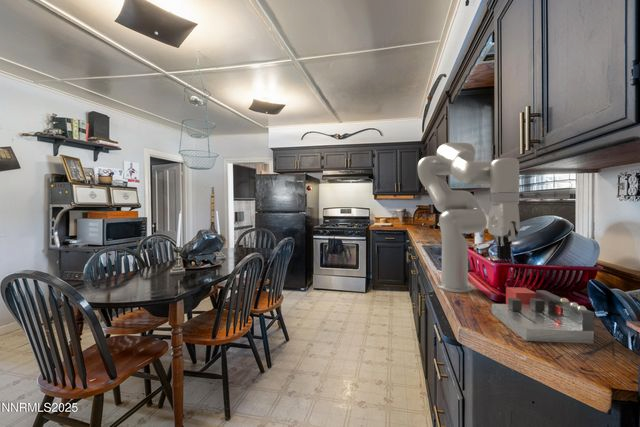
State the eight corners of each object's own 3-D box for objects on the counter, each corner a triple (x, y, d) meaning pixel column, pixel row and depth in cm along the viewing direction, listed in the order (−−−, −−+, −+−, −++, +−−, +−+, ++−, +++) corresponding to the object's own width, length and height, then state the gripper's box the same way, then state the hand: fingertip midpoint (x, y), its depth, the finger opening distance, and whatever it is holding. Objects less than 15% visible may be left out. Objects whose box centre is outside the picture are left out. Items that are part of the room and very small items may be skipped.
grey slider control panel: (491, 313, 89) (491, 286, 89) (544, 315, 88) (544, 287, 87) (526, 340, 71) (526, 307, 71) (593, 343, 70) (594, 308, 69)
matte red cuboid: (505, 305, 96) (506, 287, 96) (525, 305, 96) (525, 287, 95) (515, 311, 90) (516, 292, 90) (536, 312, 90) (537, 293, 89)
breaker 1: (508, 307, 85) (508, 297, 85) (516, 308, 85) (516, 297, 85) (512, 310, 83) (512, 300, 83) (521, 311, 82) (521, 300, 82)
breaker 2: (530, 308, 84) (530, 298, 84) (539, 308, 84) (539, 298, 84) (535, 311, 82) (535, 300, 82) (544, 311, 82) (544, 301, 82)
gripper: (480, 199, 97) (480, 254, 97) (503, 198, 82) (503, 263, 83) (504, 199, 96) (504, 254, 97) (532, 198, 81) (531, 263, 82)
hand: (503, 258), depth 90 cm, fingers closed
